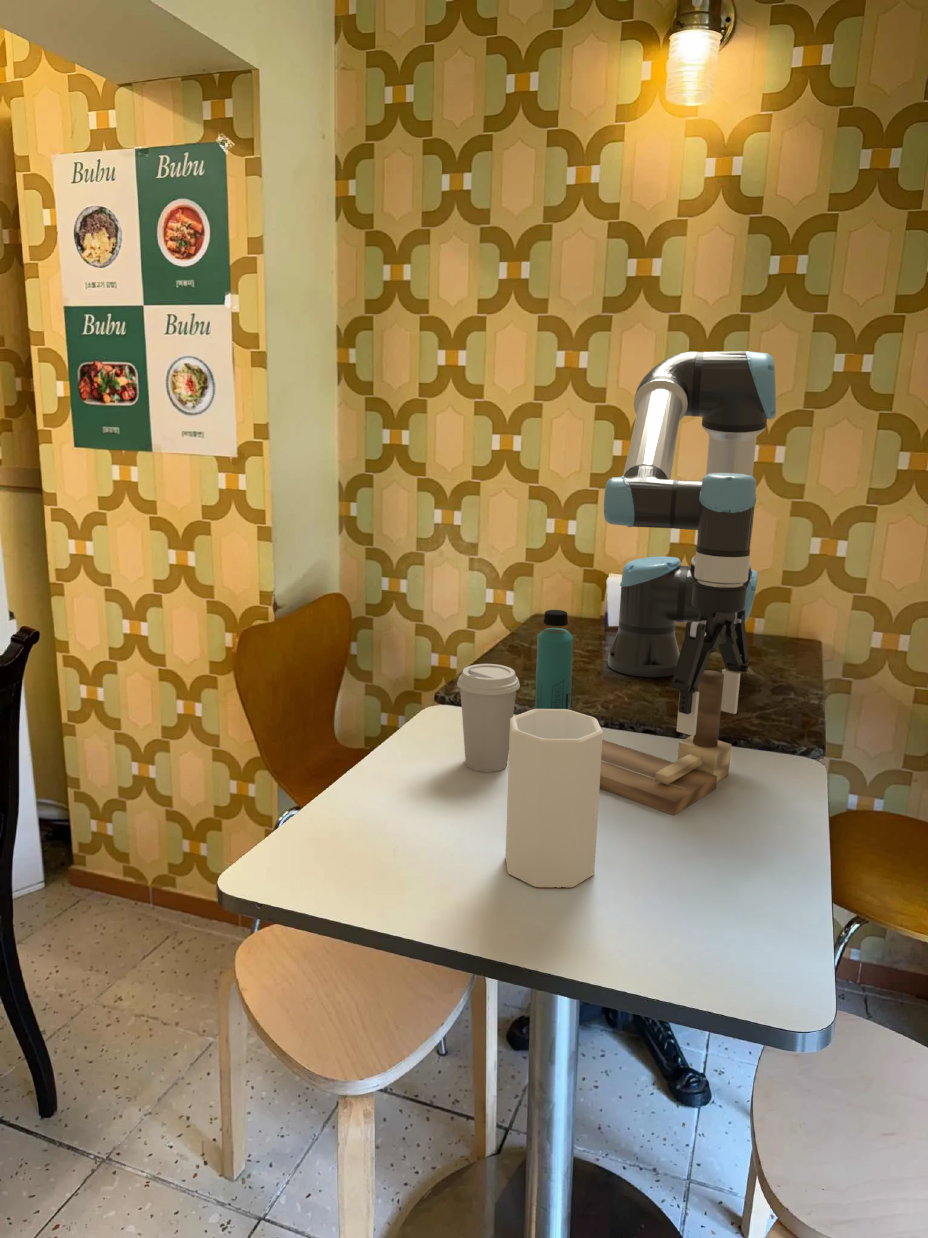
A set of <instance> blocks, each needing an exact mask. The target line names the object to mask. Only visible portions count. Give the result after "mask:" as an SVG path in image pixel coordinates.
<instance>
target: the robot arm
mask: <svg viewBox="0 0 928 1238" xmlns="http://www.w3.org/2000/svg"><path fill="white" fill-rule="evenodd" d="M775 371H776V369H775V360H774V358H773V356H772V355H771V354H769V353H767V352H755V351H748V350H745V351H744V350H743V351H742V350H741V351H740V350H739V351H738V350H737V351H736V350H734V351H731V350H730V351H685V352H680V353H677V354H674V355H672V356H669V357H668V358H665V359H664V360H662V361H660V363H658V364H657V365H655V366H654V367H653V368H651V369H650V370H649V371H648V372H647V373H646V375H644V377H643V378H642V379H641V381H640V382H639V385H638V386H637V389H636V391H635V393H634V394H635V395H634V399H633V408H634V413H635V415H636V416H635V421H634V425H633V428H632V429H633V430H632V434H631V439H630V443H629V448H628V452H627V455H626V461H625V465H624V469H623V473H622V476H617V477H610V478H609V479H608V480H607V482H606V483H605V488H604V495H603V496H604V497H603V517H604V520H605V522H607V523H606V524H610V525H614V526H615V525H616V526H625V527H627V528H652V529H656V528H657V529H659V528H660V529H675V530H690V531H697V538H696V548H695V549H696V550H695V555H694V556H693V557H692V558H691V561H690V565H681V564H682V562H681V560H680V558H678V557H677V556H676V557H675V556H648V557H641V558H637V559H633V560H631V561H629V562H626V564H625V565H623V568H622V574H621V582H620V585H619V586H620V599H619V600H620V603H619V615H618V630H617V632H616V635H615V637H614V639H613V643H612V645H611V647H610V650H609V651H608V656H607V665H608V667H609V669H611V670H613V671H615V672H617V673H621V674H624V675H628V676H633V677H641V678H664V677H670V676H673V677H672V680H671V685H670V687H671V689H675V690H678V692H679V694H678V695H679V696H678V707H677V708H678V709H677V721H676V732H678V733H681V734H686V735H689V736H694V735H696V725H697V714H698V702H699V692H697V691H698V684H699V682H700V680H701V677H702V675H703V672H704V670H706V667H707V664H708V662H709V660H710V658H711V654H712V653H715V652H716V651H717V649H719V653H720V656H721V658H722V661H723V664H724V667H725V668H724V669H722V670H721V673H723V674H724V682H723V692H722V703H721V712H725V713H729V714H733V715H735V714H737V712H738V705H739V703H738V702H739V691H740V682H741V672H742V673H745V674H746V673H747V672H748V670H749V665H748V664H749V663H750V655H749V649H748V640H747V631H746V623H747V622H748V619H749V617H750V614H751V612H752V609H753V605H754V600H755V597H756V589H757V586H758V577H759V575H758V572H757V571H756V570H755V569H752V562H751V560H750V559H751V543H752V533H753V528H754V527H753V526H754V519H755V518H754V515H755V505H756V504H757V503H756V502H757V481H756V480H757V479H756V478H755V477H754V475H753V474H754V467H755V466H754V465H755V456H756V445H757V437H759V435H760V434H761V433H763V432H764V431H765V430H766V428H767V423H768V421H767V420H772V419H775V418H776V416H777V407H776V406H777V397H776V396H777V394H776V372H775ZM684 417H700V418H701V427H702V428H701V429H703V430H704V431H705V432H706V433H707V434H708V436H709V437H708V446H707V448H708V449H707V458H706V472H705V475H704V477H702V480H688V479H687V480H686V479H685V480H683V479H680V480H679V479H671V477H672V470H673V465H674V458H675V454H676V453H675V452H676V447H677V439H678V432H679V425H680V421H682V419H683V418H684ZM676 623H685V624H686V625H685V631H684V639H683V642H682V645H681V650H679V646H678V642H677V638H676Z"/></svg>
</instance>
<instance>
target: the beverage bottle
mask: <svg viewBox="0 0 928 1238" xmlns="http://www.w3.org/2000/svg"><path fill="white" fill-rule="evenodd" d="M568 618H569V617H568V612H567V611H565V610H563V609H562V610H561V609H548V610H546V611H545V612H544V615H543V624H544V625H546V626H552V627H547V628H544V629H543V630H542V631H540V633H538V634H537V635H536V639H537V642H536V643H537V645H536V667H535V674H534V675H535V682H534V683H535V687H534V689H535V693H534V708H533V709H568V710H572V703H573V701H572V698H573V697H572V695H573V691H572V690H573V688H572V687H573V684H574V683H573V680H574V679H573V678H574V676H573V669H574V668H573V660H574V658H573V654H574V653H573V650H574V648H573V647H574V636H573V634H571V632H569V630H567V629H565V628H560V627H562V626H563V627H564V626H567V625H568V624H569V619H568Z"/></svg>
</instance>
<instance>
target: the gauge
mask: <svg viewBox="0 0 928 1238" xmlns="http://www.w3.org/2000/svg"><path fill="white" fill-rule="evenodd" d="M723 682H724V674H723V673H722V671H718V670H712V669H710V670H709V669H708V670H707V669H705V670H704V672H703V675H702V677H701V680H700V682H699V684H698V687H697V690H696V691H697V692H699V702H698V714H697V725H696V735H694V736H691V735H689V736H688V737H687V738H685V739H683V740H681V741H679V743H678V754H677V755H678V756H677V760H675V761H673V762H674V763H672V764H670V765H669V766H667V767H665V768H663V769H661V770H660V771H658V772H656V775H655V781H658V782H661V783H664V784H667V785H668V784H669V783H671V782H673V781H675V780H676V779H678V778H680V777H681V776H683V775H685V774H687V773H688V772H690V771H692V770H693V769H696V770H699V771H702V772H705V773H709V774H712V775H715V776H717V782H716V783H718V782H719V781H721V780H722V779H723V778H725V777H727V776H729V773H730V761H731V751H732V744H731V743H730V742H729V743H728V742H727V741H726V742H725V741H722V740H719V734H720V723H721V712H722V711H721V703H722V692H723Z"/></svg>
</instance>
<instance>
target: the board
mask: <svg viewBox="0 0 928 1238" xmlns="http://www.w3.org/2000/svg"><path fill="white" fill-rule="evenodd" d="M674 762H675V761H671V760H667V759H664V758H661V757H658V756H655V755H653V754H652V755H651V754H649V753H646V752H643V751H640V750H636V749H633V748H630V747H628V746H624V745H621V744H617V743H614V742H612V741H608V740H605V739H602V754H601V770H600V787H599V790H600V789H601V790H603V791H606V792H610V793H612V794H614V795H618V796H620V797H623V798H626V799H628V800H631V801H634V802H637V803H640V804H642V805H645V806H648V807H650V808H653V809H656V810H659V811H662V812H664V813H668V814H670V815H672V816H675V815H677V814H679V813H680V812H681V811H683V810H685V809H686V808H688V807H690V806H691V805H693V804H694V803H697V801H699V800H701V799H702V798H704V797H705V796H707V795H708V794H710V793H711V792H713V791H715V790H716V789H717V783H718V782H717V776H715V775H712V774H709V773H705V772H702V771H699V770H696V769H693V770H692V771H690V772H688V773H687V774H685V775H683V776H681V777H680V778H678V779H676V780H675V781H673V782H671V783H669V784H668V785H667V784H664V783H661V782H658V781H655V775H656V772H658V771H660V770H661V769H663V768H665V767H667V766H669V765H670V764H672V763H674Z"/></svg>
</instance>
